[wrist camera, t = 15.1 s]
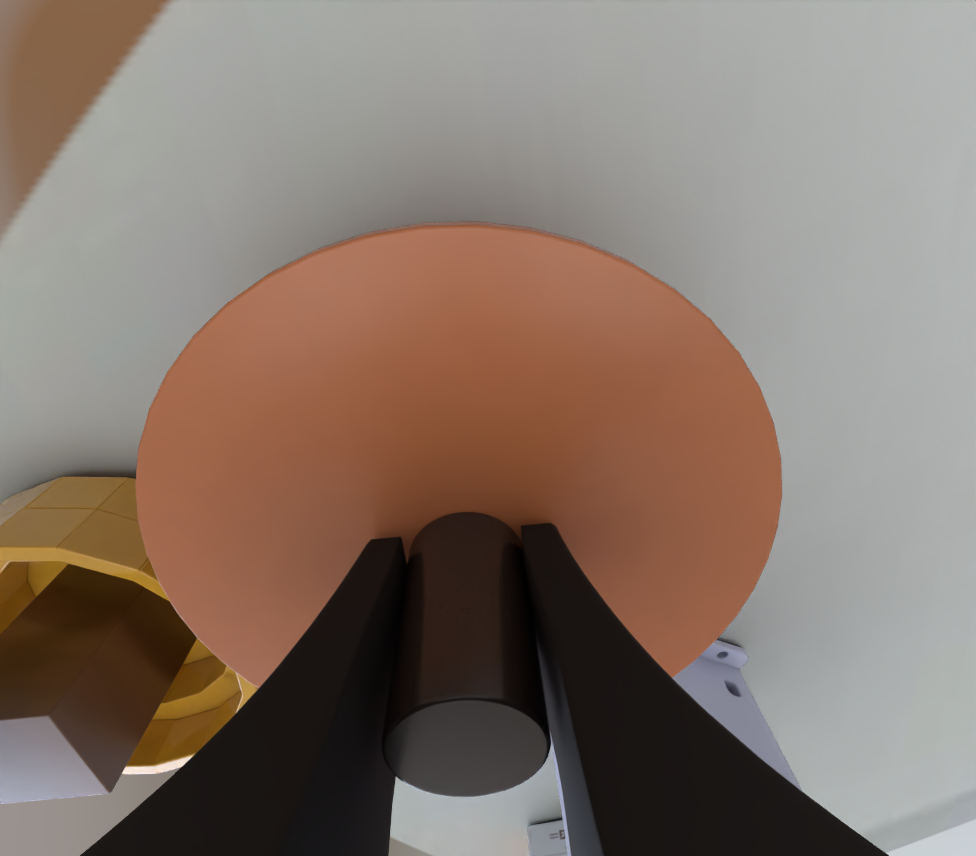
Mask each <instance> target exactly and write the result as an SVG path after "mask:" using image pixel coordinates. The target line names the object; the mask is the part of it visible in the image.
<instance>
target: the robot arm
mask: <svg viewBox="0 0 976 856" xmlns="http://www.w3.org/2000/svg"><path fill="white" fill-rule="evenodd" d="M521 536H522V550H523V557H524V564H525V572H526V579H527V586H528V591H529V596H530V601H531V606H532V611H533V617H534V624H535V631H536V638H537V645H538V652H539V659H540V666H541V673H542V680H543V687H544V694H545V701H546V708H547V715H548V722H549V728H550V734H551V741H552V748H553V755H554V762H555V769H556V776H557V783H558V790H559V797H560V804H561V811H562V818H563V825H564V832H565V839H566V846H567V853H568V856H889V855H887V854H886V853H885V852H883V851H882V850H880V849H879V848H878V847H876V846H875V845H873V844H872V843H871V842H869V841H868V840H866V839H865V838H864V837H862V836H861V835H860V834H858V833H857V832H855V831H854V830H853V829H851V828H850V827H848V826H847V825H846V824H844V823H843V822H842V821H840V820H839V819H838V818H836V817H835V816H834V815H832V814H831V813H830V812H828V811H827V810H826V809H824V808H823V807H822V806H820V805H819V804H818V803H816V802H815V801H814V800H813V799H811V798H810V797H809V796H807V795H806V794H805V793H803V792H802V790H801V787H800V785H799V783H798V781H797V779H796V777H795V775H794V773H793V772H792V770H791V768H790V766H789V764H788V762H787V760H786V758H785V756H784V755H783V753H782V751H781V749H780V747H779V745H778V743H777V741H776V739H775V737H774V736H773V734H772V732H771V730H770V728H769V726H768V724H767V722H766V720H765V718H764V717H763V715H762V713H761V711H760V709H759V707H758V705H757V703H756V701H755V699H754V698H753V696H752V694H751V692H750V690H749V688H748V686H747V684H746V682H745V680H744V679H743V677H742V675H741V673H740V671H739V669H740V668H741V667H742V666H743V665H744V664H745V663H746V662H747V661H748V655H747V653H746V651H745V650H744V649H743V648H740V647H737V646H734V645H731V644H728V643H725V642H722V641H719V640H716V641H715V642H714V643H713V644H711V645H710V646H709V647H708V648H707V649H706V650H705V651H704V652H703V653H702V654H701V655H700V656H699V657H698V658H697V659H696V660H695V661H693V662H692V663H691V664H690V665H688V666H687V667H686V668H684V669H683V670H682V671H680V672H679V673H678V674H677V675H675V676H674V677H673V678H672V677H671V676H670V675H669V674H668V673H667V672H666V671H665V670H664V669H663V668H662V667H661V666H660V665H659V664H658V663H657V662H656V661H655V660H654V659H653V658H652V657H651V655H650V654H649V653H648V652H647V651H646V650H645V649H644V648H643V647H642V646H641V644H640V643H639V642H638V641H637V640H636V639H635V638H634V636H633V635H632V634H631V633H630V632H629V631H628V629H627V628H626V627H625V626H624V625H623V623H622V622H621V621H620V620H619V619H618V617H617V616H616V615H615V614H614V612H613V611H612V610H611V609H610V607H609V606H608V605H607V604H606V602H605V601H604V600H603V598H602V597H601V596H600V594H599V593H598V592H597V590H596V589H595V588H594V586H593V585H592V583H591V582H590V581H589V579H588V578H587V577H586V575H585V574H584V572H583V571H582V569H581V568H580V566H579V565H578V563H577V562H576V560H575V559H574V557H573V556H572V554H571V552H570V551H569V549H568V547H567V546H566V544H565V542H564V540H563V539H562V537H561V535H560V533H559V531H558V529H557V527H556V526H555V525H554V524H552V523H543V524H532V525H521ZM406 569H407V562H406V557H405V552H404V548H403V543H402V538H401V537H391V538H380V539H371V540H370V541H369V542H368V543H367V544H366V546H365V547H364V549H363V551H362V552H361V554H360V555H359V557H358V558H357V560H356V561H355V563H354V564H353V566H352V567H351V569H350V570H349V572H348V573H347V575H346V576H345V578H344V579H343V581H342V582H341V584H340V585H339V586H338V588H337V589H336V591H335V592H334V594H333V595H332V596H331V598H330V599H329V601H328V602H327V603H326V605H325V606H324V607H323V609H322V610H321V612H320V613H319V614H318V616H317V617H316V619H315V620H314V621H313V623H312V624H311V625H310V627H309V628H308V629H307V631H306V632H305V633H304V634H303V636H302V637H301V638H300V639H299V641H298V642H297V643H296V644H295V646H294V647H293V648H292V649H291V650H290V652H289V653H288V654H287V655H286V657H285V658H284V659H283V660H282V662H281V663H280V664H279V665H278V667H277V668H276V669H275V670H274V671H273V673H272V674H271V675H270V676H269V677H268V678H267V679H266V681H265V682H264V683H263V684H262V685H261V686H260V687H259V689H258V690H257V691H256V692H255V693H254V694H253V695H252V696H251V697H250V699H249V700H248V701H247V702H246V703H245V704H244V705H243V706H242V707H241V708H240V709H239V710H238V711H237V713H236V714H235V715H234V716H233V717H232V718H231V719H230V720H229V721H228V722H227V723H226V724H225V725H224V726H223V727H222V728H221V729H220V730H219V731H218V732H217V733H216V734H215V735H214V736H213V737H212V738H211V739H210V740H209V741H208V742H207V743H206V744H205V745H204V746H203V747H202V748H201V749H200V750H199V751H198V752H197V753H196V754H195V755H194V756H193V757H192V758H191V759H189V760H188V761H187V762H186V763H185V764H184V765H183V766H182V767H181V768H180V769H179V770H178V771H177V772H176V773H175V774H174V775H173V776H172V777H171V778H170V779H169V780H167V781H166V782H165V783H164V784H163V785H162V786H161V787H160V788H159V789H158V790H156V791H155V792H154V793H153V794H152V795H151V796H149V797H148V798H147V799H146V800H145V801H144V802H143V803H141V804H140V805H139V806H138V807H137V808H136V809H135V810H134V811H132V812H131V813H130V814H129V815H128V816H127V817H125V818H124V819H123V820H122V821H121V822H120V823H119V824H117V825H116V826H115V827H114V828H112V830H110V831H109V832H108V833H107V834H105V835H104V836H103V837H102V838H101V839H100V840H98V841H97V842H96V843H95V844H94V845H92V846H91V847H90V848H89V849H87V850H86V851H85V852H84V853H83V854H81V855H80V856H388V852H389V840H390V826H391V813H392V802H393V794H394V786H395V778H396V776H395V775H394V774H393V773H392V772H391V770H390V769H389V768H388V766H387V765H386V763H385V760H384V758H383V754H382V749H381V740H382V733H383V727H384V720H385V713H386V706H387V699H388V692H389V686H390V679H391V672H392V665H393V658H394V651H395V645H396V638H397V631H398V624H399V617H400V610H401V603H402V597H403V590H404V583H405V576H406Z"/></svg>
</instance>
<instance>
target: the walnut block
mask: <svg viewBox="0 0 976 856" xmlns="http://www.w3.org/2000/svg"><path fill="white" fill-rule="evenodd" d="M196 640H197V637H196V636H195V634H194V633H193V632H192V631H191V629H190V628H189V627H188V626H187V624H186V623H185V622H184V621H183V620H182V618H181V617H180V616H179V615H178V613H177V612H176V610H175V609H174V607H173V605H172V604H171V602H169V601H168V600H166V599H164V598H162V597H160V596H159V595H157V594H155V593H153V592H152V591H150V590H148V589H146V588H145V587H143V586H141V585H139V584H138V583H136V582H134V581H131V580H127V579H123V578H119V577H116V576H112V575H108V574H105V573H101V572H97V571H93V570H90V569H86V568H82V567H78V566H75V565H71V564H68V565H67V566H66V567H65V568H64V569H63V570H62V571H61V572H60V573H59V574H58V575H57V576H56V577H55V578H54V579H53V580H52V581H51V582H50V583H49V584H48V585H47V586H46V587H45V588H44V590H43V591H42V592H41V593H40V594H39V595H38V596H37V597H36V598H35V599H34V600H33V601H32V602H31V603H30V604H29V605H28V606H27V607H26V608H25V609H24V610H23V611H22V612H21V613H20V614H19V615H18V616H17V617H16V618H15V619H14V620H13V621H12V622H11V623H10V624H9V626H8V627H7V628H6V629H5V630H4V631H3V632H2V633H1V634H0V804H3V803H15V802H24V801H36V800H47V799H57V798H68V797H79V796H89V795H99V794H110V793H111V792H112V790H113V788H114V787H115V785H116V783H117V781H118V780H119V777H120V776H121V774H122V772H123V771H124V769H125V767H126V765H127V763H128V762H129V760H130V758H131V756H132V754H133V753H134V751H135V749H136V747H137V745H138V744H139V742H140V740H141V738H142V736H143V735H144V733H145V731H146V729H147V728H148V726H149V724H150V722H151V720H152V719H153V717H154V715H155V713H156V711H157V710H158V708H159V706H160V704H161V702H162V701H163V699H164V697H165V695H166V693H167V692H168V690H169V688H170V686H171V684H172V683H173V681H174V679H175V677H176V675H177V674H178V672H179V670H180V668H181V666H182V665H183V663H184V661H185V659H186V657H187V656H188V654H189V652H190V650H191V648H192V647H193V645H194V643H195V641H196Z"/></svg>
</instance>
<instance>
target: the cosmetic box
mask: <svg viewBox="0 0 976 856" xmlns="http://www.w3.org/2000/svg"><path fill="white" fill-rule="evenodd" d="M527 834H528V845H529V856H568V853H567V846H566V839H565V832H564V825H563V820H560V821H554V822H549V823H543V824H537V825H531V826H529V827H528V828H527Z"/></svg>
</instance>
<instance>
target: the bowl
mask: <svg viewBox="0 0 976 856" xmlns="http://www.w3.org/2000/svg"><path fill="white" fill-rule="evenodd" d="M135 481H136V479H134V478H129V477H60V478H57V479H54V480H52V481H49V482H46V483H44V484H41V485H39V486H36V487H33V488H31V489H28V490H25V491H23V492H20V493H17V494H15V495H12V496H10V497H9V498H8V499H6V500H5V501H4V502H2V503H1V504H0V634H1V633H2V632H3V631H4V630H5V629H6V628H7V627H8V626H9V624H10V623H11V622H12V621H13V620H14V619H15V618H16V617H17V616H18V615H19V614H20V613H21V612H22V611H23V610H24V609H25V608H26V607H27V606H28V605H29V604H30V603H31V602H32V601H33V600H34V599H35V598H36V597H37V596H38V595H39V594H40V593H41V592H42V591H43V590H44V588H45V587H46V586H47V585H48V584H49V583H50V582H51V581H52V580H53V579H54V578H55V577H56V576H57V575H58V574H59V573H60V572H61V571H62V570H63V569H64V568H65V567H66V566H67V565H68V564H71V565H75V566H78V567H82V568H86V569H90V570H93V571H97V572H101V573H105V574H108V575H112V576H116V577H119V578H123V579H127V580H131V581H134V582H136V583H138V584H139V585H141V586H143V587H145V588H146V589H148V590H150V591H152V592H153V593H155V594H157V595H159V596H160V597H162V598H164V599H166V600H168V601H169V602H170V600H169V599H168V597H167V596H166V594H165V592H164V591H163V589H162V587H161V586H160V584H159V582H158V579H157V577H156V575H155V572H154V570H153V567H152V565H151V563H150V560H149V558H148V556H147V553H146V549H145V546H144V542H143V538H142V534H141V530H140V526H139V522H138V513H137V501H136V488H135ZM258 689H259V688H258V687H256V686H254V685H253V684H251V683H249V682H248V681H246V680H245V679H244V678H243V677H241V676H240V675H239V674H237V673H236V672H235V671H233V670H232V669H231V668H230V667H228V666H227V665H226V664H224V663H223V662H222V661H221V660H220V659H219V658H218V657H217V656H215V655H214V654H213V653H212V652H211V651H210V650H209V649H208V648H207V647H206V646H205V645H204V644H203V643H202V642H201V641H200V640H199V639H198V638H197V640H196V641H195V643H194V645H193V647H192V648H191V650H190V652H189V654H188V656H187V657H186V659H185V661H184V663H183V665H182V666H181V668H180V670H179V672H178V674H177V675H176V677H175V679H174V681H173V683H172V684H171V686H170V688H169V690H168V692H167V693H166V695H165V697H164V699H163V701H162V702H161V704H160V706H159V708H158V710H157V711H156V713H155V715H154V717H153V719H152V720H151V722H150V724H149V726H148V728H147V729H146V731H145V733H144V735H143V736H142V738H141V740H140V742H139V744H138V745H137V747H136V749H135V751H134V753H133V754H132V756H131V758H130V760H129V762H128V763H127V765H126V767H125V769H124V771H123V772H122V774H158V773H162V772H165V771H169V770H172V769H176V768H180V767H182V766H183V765H184V764H185V763H186V762H187V761H188V760H189V759H191V758H192V757H193V756H194V755H195V754H196V753H197V752H198V751H199V750H200V749H201V748H202V747H203V746H204V745H205V744H206V743H207V742H208V741H209V740H210V739H211V738H212V737H213V736H214V735H215V734H216V733H217V732H218V731H219V730H220V729H221V728H222V727H223V726H224V725H225V724H226V723H227V722H228V721H229V720H230V719H231V718H232V717H233V716H234V715H235V714H236V713H237V711H238V710H239V709H240V708H241V707H242V706H243V705H244V704H245V703H246V702H247V701H248V700H249V699H250V697H251V696H252V695H253V694H254V693H255V692H256V691H257V690H258Z"/></svg>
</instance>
